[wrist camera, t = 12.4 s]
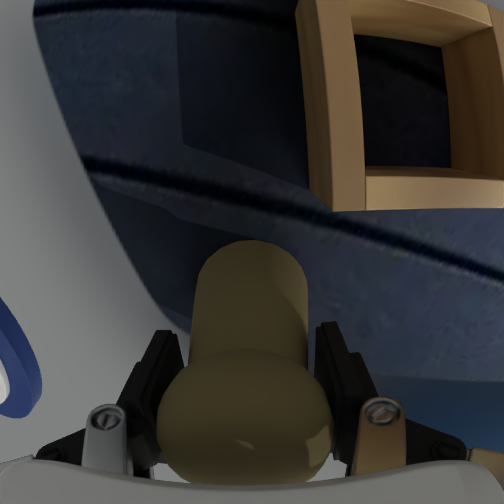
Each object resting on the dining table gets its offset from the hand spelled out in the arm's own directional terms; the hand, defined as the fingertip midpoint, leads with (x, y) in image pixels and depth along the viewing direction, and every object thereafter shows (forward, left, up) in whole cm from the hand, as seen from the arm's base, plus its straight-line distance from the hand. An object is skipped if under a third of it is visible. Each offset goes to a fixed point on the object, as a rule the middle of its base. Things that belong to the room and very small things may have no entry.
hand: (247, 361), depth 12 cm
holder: (+8, +10, -6) cm, 14 cm away
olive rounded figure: (0, 0, -6) cm, 6 cm away
